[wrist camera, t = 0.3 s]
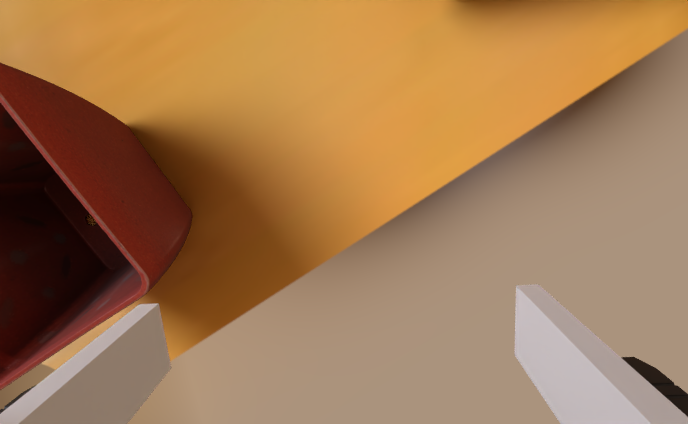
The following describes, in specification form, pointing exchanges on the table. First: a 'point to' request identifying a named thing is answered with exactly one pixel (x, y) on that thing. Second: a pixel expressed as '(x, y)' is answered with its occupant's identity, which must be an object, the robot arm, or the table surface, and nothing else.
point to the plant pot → (73, 220)
